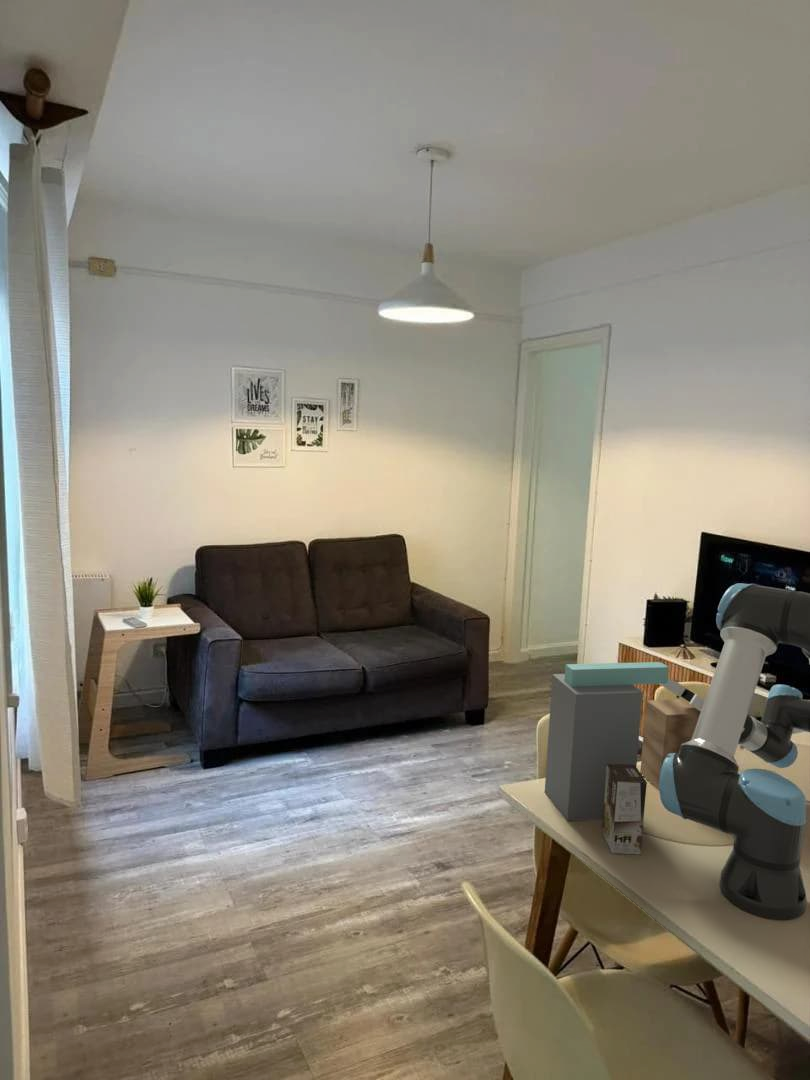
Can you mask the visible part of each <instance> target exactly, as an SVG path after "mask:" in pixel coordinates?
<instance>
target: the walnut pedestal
mask: <svg viewBox="0 0 810 1080" xmlns="http://www.w3.org/2000/svg"><path fill="white" fill-rule="evenodd" d="M644 712H645V713H644V723H643V736H642V737H643V738H642V749H641V757H640V758H641V760H640V769H639V772H640V773H641V775H643V776H644V777H645V778H646V779H647V780H648V781H649V782H651V783H652V784H653V785H654V786H655V787H656V788H657V789H658V790H659V791H660V789H659V784H660V774H661V769H662V765H663V762H664V760H665V758H666V757H667V755H668V754H670V753H676V754H678V753H679V750H680V747H681V745H682V744H683V743H686V742H689V741H691V739H692V736H693V734H694V731H695V728H696V725H697V722H698V719H699V716H700V713H701V711H700V710H699V709H697V708H696V707H694V706H692V705H691V704H689V702H688V701H685V699H683V698H680V699H679V698H677V699H676V698H675V699H650V700H648V699H647V700H646V701H645V711H644ZM644 777H643V778H644ZM645 778H644V779H645ZM646 779H645V780H646ZM647 780H646V781H647ZM648 781H647V782H648ZM649 782H648V783H649ZM652 784H651V785H652ZM653 785H652V786H653ZM654 786H653V787H654ZM655 787H654V788H655ZM656 788H655V789H656ZM657 789H656V790H657ZM658 790H657V791H658ZM659 791H658V792H659Z"/></svg>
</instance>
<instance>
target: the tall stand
mask: <svg viewBox="0 0 810 1080" xmlns="http://www.w3.org/2000/svg"><path fill="white" fill-rule="evenodd" d="M564 679H565V673H553V674H552V676H551V689H550V691H551V692H550V703H549V704H550V706H549V720H548V735H547V752H546V765H545V767H546V768H545V782H544V793H545V795H546V796H547V797H548V799H549V800H550V801H551V802H552V804H553V805H554V806H555V808H556V809H557V810H558V811H559V813H560V814H561V815H562V816H563V818H564V819H565V821H566V822H575V821H585V820H586V821H588V820H603V812H604V797H605V782H606V769H607V764H631V765H635V766H636V767H637V766H638V765H637V763H638V753H639V743H640V742H639V741H640V730H641V729H640V727H641V718H642V717H641V716H642V706H643V705H642V704H643V694H644V693H643V691H642V690H641V689H639V688H637V686H636V685H607V686H575V687H571V686H570V685H569V684H567V683H566V682H565V681H564Z"/></svg>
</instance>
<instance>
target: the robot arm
mask: <svg viewBox="0 0 810 1080" xmlns="http://www.w3.org/2000/svg"><path fill="white" fill-rule="evenodd" d="M715 621H716V622H715V623H716V627H717V629H718V630H719V631H720V633H719V634H720V638H721V639H722V641H723V642H724V644H723V646H722V649H721V652H720V655H719V658H718V662H717V663H716V664H717V665H716V667H715V670H714V672H713V675H712V678H711V682H710V685H709V687H708V690H707V694H706V696H705V698H703V697H701V696H700V695H699V694H697V693H694V692H692V691H691V690H690V689H687V687H686V686H684V685H682V684H681V683H679V682H677V681H676V680H674V679H672V678H671V677H670V676H668V683H667V684H659V685H660V686H661V687H663V688H665V689H666V690H668V691H670V692H671V693H673V694H675V695H676V698H677V699H679V698H681V699H683V700H686V702H688V704H690V705H691V706H693V707H695V708H696V709H698V710H699V711H701V713H700V716H699V719H698V722H697V725H696V728H695V731H694V734H693V736H692V739H691V741H689V742H686V743H683V744H682V745H681V747H680V750H679V753H678V754H676V753H670V754H668V755H667V757H666V758H665V760H664V762H663V765H662V769H661V774H660V784H659V789H660V792H659V797H660V801H661V804H662V806H663V807H664V808H665V810H667V811H668V812H669V813H672V814H673V815H677V816H679V817H680V818H682V819H683V820H689V821H692V822H695V823H698V824H700V825H703V826H706V827H709V828H711V829H714V830H717V831H719V832H721V833H724V834H726V835H730V836H732V837H733V845H732V850H731V852H730V853H729V856H728V857H727V860H726V862H725V864H724V865H723V867H722V869H721V872H720V875H719V883H718V884H719V889H720V892H721V894H722V895H723V896H724V897H725V898H726V899H727V900H728V901H729V902H730V903H732V904H733V905H734V906H735V907H737V908H739V909H741V910H743V911H746V912H747V913H750V914H752V915H756V916H758V917H760V918H761V917H762V918H765V919H772V920H781V921H782V920H783V921H784V920H791V919H792V920H793V919H796V918H798V917H800V916H802V915H803V914H804V912H805V911H806V905H807V893H806V888H805V885H804V881H803V876H802V873H801V867H800V865H801V857H802V856H801V855H802V849H803V848H802V847H803V841H804V832H805V823H806V822H807V815H806V814H807V813H806V811H807V799H806V796H805V794H804V793H803V791H802V789H800V788H799V787H798V785H797V784H796V783H794V782H792V781H791V780H790V779H789V778H788V779H789V780H788V779H786V778H787V777H786V778H784V777H782V776H780V775H778V774H775V773H772V772H769V771H765V770H761V771H760V770H758V769H759V768H747V769H748V770H746V769H744V770H745V771H744V770H742V771H743V772H742V774H741V775H740V774H739V770H740V767H739V766H740V765H739V764H738V763H737V760H736V759H735V755H736V752H737V748H738V745H739V749H740V750H742V751H743V750H744V749H745V750H747V751H748V752H750V753H752V754H753V755H755V756H756V757H758V758H759V759H761V760H763V761H764V763H768V764H770V765H773V766H774V767H776V768H779V769H786V768H789V767H791V766H792V765H794V763H795V762H796V760H797V758H798V754H799V751H798V746H797V745H796V744H795V743H794V742H793V740H792V735H793V732H794V730H795V729H796V730H800V731H802V732H807V733H810V700H807V699H803V693H802V691H800V690H799V689H798V688H795V687H791V686H790V685H786V684H780V683H779V684H774V685H772V687H771V688H770V690H769V692H768V695H767V698H766V699H765V705H764V708H763V711H762V714H761V715H762V716H761V719H760V721H759V720H758V719H757V718H755V717H753V716H751V715H750V714H749V711H750V707H751V704H752V701H753V698H754V696H755V691H756V688H757V685H758V682H759V678H760V677H761V676H760V675H761V673H762V669H763V666H764V664H765V660H766V658H767V657H768V656H770V655H773V654H774V653H776V651H777V649H778V645H779V643H780V644H783V645H790V646H791V645H792V646H796V647H799V648H800V649H801V650H802V653H803V654H804V655H805V657H806V658H807V659H808V661H809V662H808V664H810V592H809V593H808V592H804V591H796V590H791V589H790V590H789V589H783V588H778V587H777V588H776V587H770V586H764V585H759V584H756V583H743V582H741V583H735V584H733V585H731V586H729V587H728V588H727V589H726V590H725V592H724V594H723V595H722V598H720V601H719V604H718V606H717V613H716V618H715Z"/></svg>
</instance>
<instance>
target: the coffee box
mask: <svg viewBox="0 0 810 1080" xmlns="http://www.w3.org/2000/svg"><path fill="white" fill-rule="evenodd" d="M647 784H648V781H647V780H646V779H645V778H644V777H643V776H642V775H641V773H640V769H638V768H637V766H635V765H631V764H607V769H606V782H605V797H604V812H603V819H602V828H601V833H602V835H603V837H604V840H605V841H606V844H607V845H608V848H609V850H610V852H611V853H612V854H623V855H624V854H625V855H638V856H639V855H641V852H642V851H641V850H642V840H643V831H644V829H643V827H644V817H645V807H646V806H645V805H646V797H647Z"/></svg>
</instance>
